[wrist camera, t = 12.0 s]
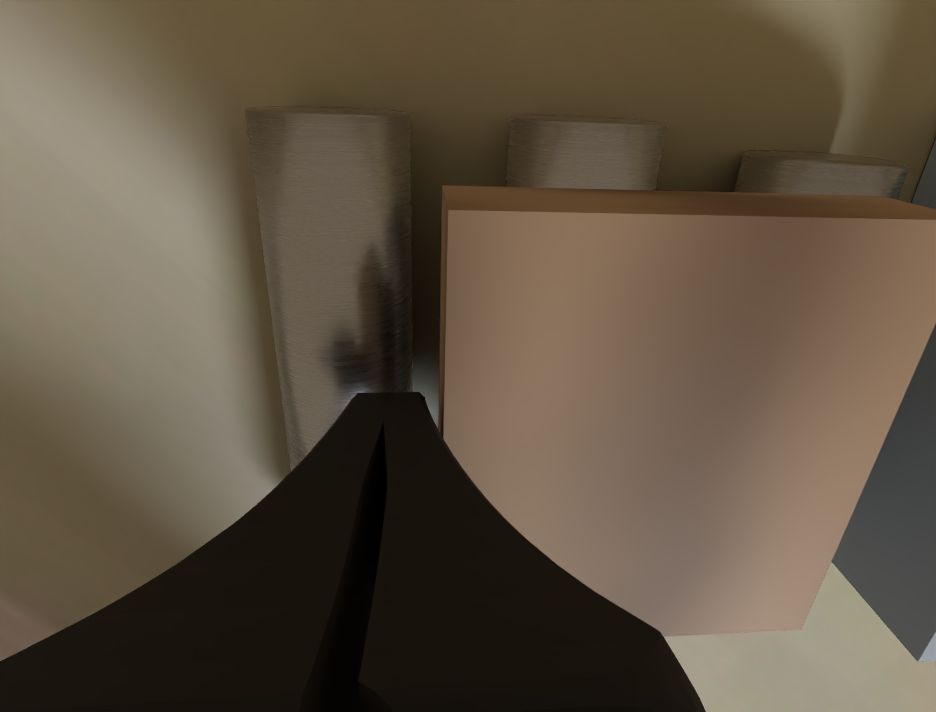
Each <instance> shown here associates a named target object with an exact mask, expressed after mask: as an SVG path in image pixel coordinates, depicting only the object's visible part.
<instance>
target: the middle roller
mask: <svg viewBox="0 0 936 712" xmlns="http://www.w3.org/2000/svg"><path fill="white" fill-rule="evenodd" d="M666 130H667V124H665V123H660V122H654V121H645V120H635V119H623V118H609V117H584V116H556V115H515V116H511V118H510V134H509V149H508V165H507V180H506V187H534V188H575V189H616V190H656V186H657V180H658V175H659V169H660V164H661V158H662V152H663V147H664V141H665V136H666Z"/></svg>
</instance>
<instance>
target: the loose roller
mask: <svg viewBox="0 0 936 712" xmlns="http://www.w3.org/2000/svg"><path fill="white" fill-rule="evenodd" d="M908 169H909V166H908V165H906V164H902V163H898V162H893V161H887V160H881V159H874V158H867V157H859V156H850V155H840V154H829V153H818V152H791V151H762V150H750V151H745V152H744V153H743V158H742V162H741V166H740V170H739V174H738V178H737V182H736V186H735V191H734V192H740V193H781V194H823V195H864V196H884V197H888V198H892V199H896V200H897V198H898V196H899V193H900V190H901V188H902V185H903V182H904V179H905V177H906V174H907V171H908Z"/></svg>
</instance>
